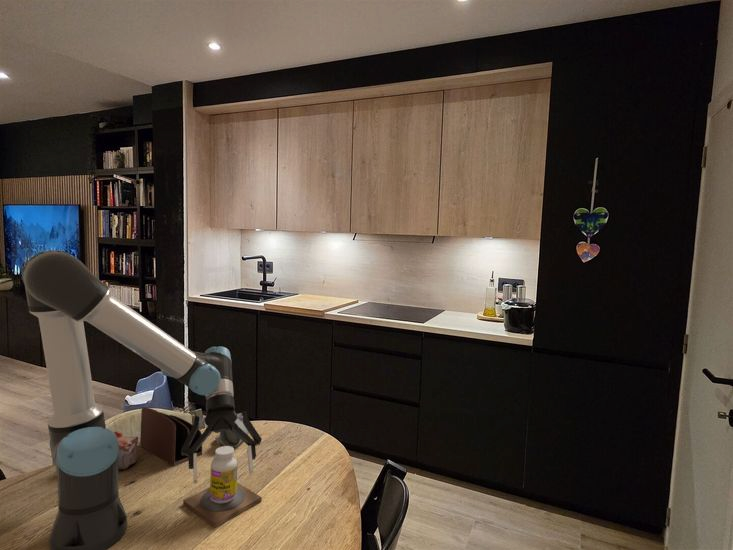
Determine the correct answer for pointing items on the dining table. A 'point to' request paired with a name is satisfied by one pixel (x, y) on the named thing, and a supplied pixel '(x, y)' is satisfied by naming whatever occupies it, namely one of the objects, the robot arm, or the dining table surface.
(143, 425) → the letter holder
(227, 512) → the dock plate
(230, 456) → the supplement bottle
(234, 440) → the ceramic mug
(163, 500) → the dining table surface
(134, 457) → the food item
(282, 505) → the dining table surface
